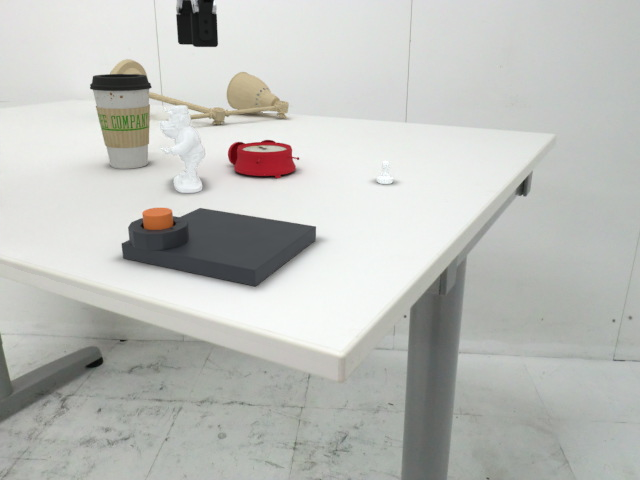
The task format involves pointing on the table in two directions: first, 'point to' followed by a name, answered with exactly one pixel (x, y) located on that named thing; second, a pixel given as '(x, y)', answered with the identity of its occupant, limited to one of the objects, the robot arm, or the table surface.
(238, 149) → the alarm clock
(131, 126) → the coffee cup
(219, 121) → the desk lamp
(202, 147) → the figurine
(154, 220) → the button
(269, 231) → the scale
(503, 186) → the table surface
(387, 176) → the chess pawn
